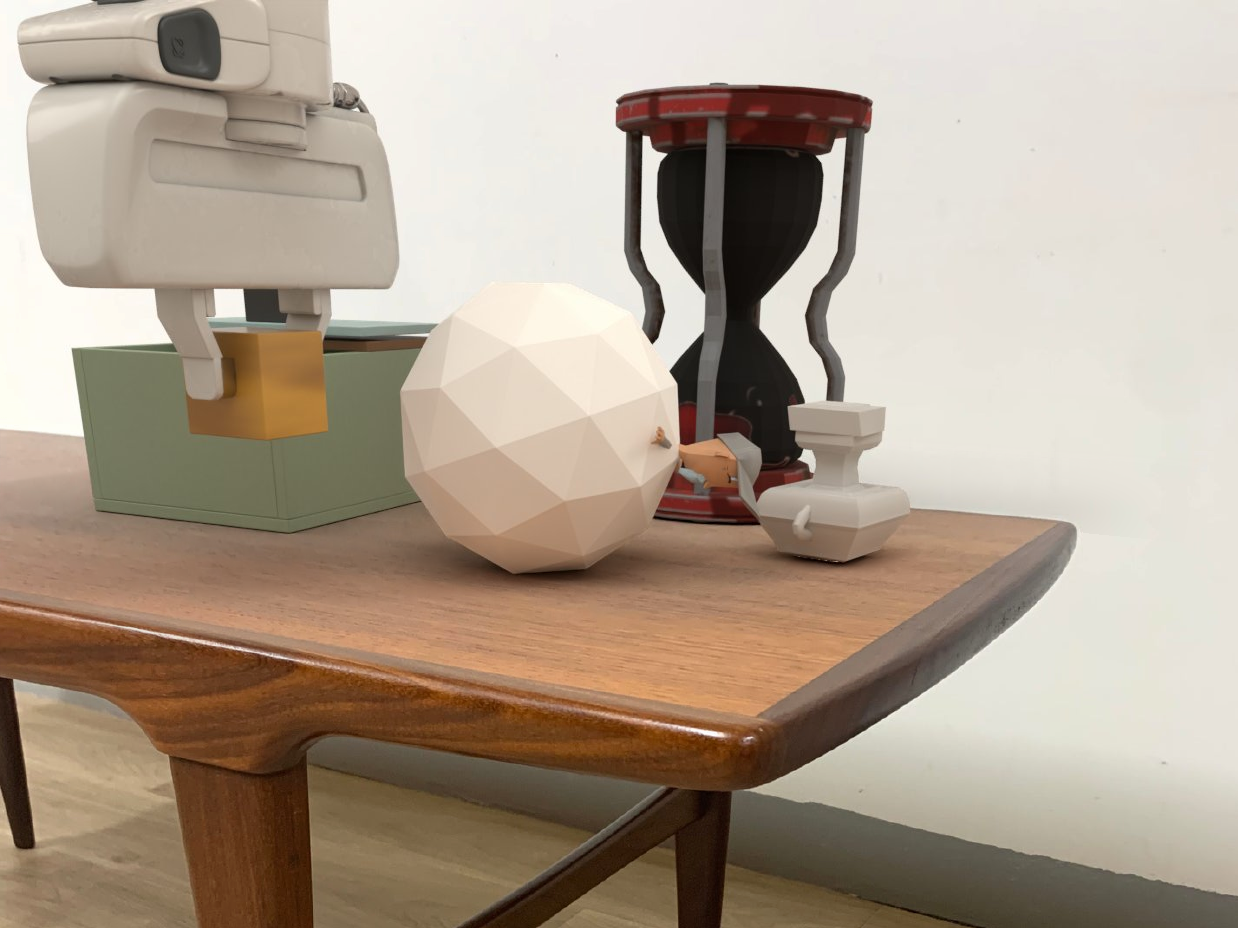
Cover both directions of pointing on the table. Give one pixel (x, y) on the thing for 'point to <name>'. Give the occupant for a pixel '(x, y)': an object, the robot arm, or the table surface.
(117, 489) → the case
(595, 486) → the person on sphere
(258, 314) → the blue-grey flat panel
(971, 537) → the table surface
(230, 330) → the block
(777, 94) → the hourglass
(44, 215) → the robot arm
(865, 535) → the beige squat bottle
